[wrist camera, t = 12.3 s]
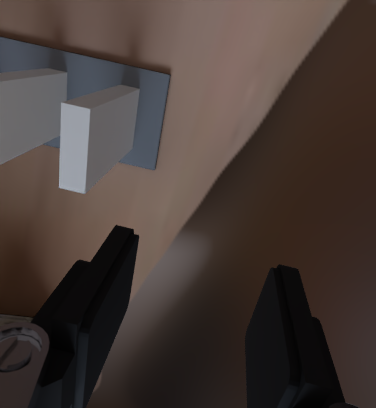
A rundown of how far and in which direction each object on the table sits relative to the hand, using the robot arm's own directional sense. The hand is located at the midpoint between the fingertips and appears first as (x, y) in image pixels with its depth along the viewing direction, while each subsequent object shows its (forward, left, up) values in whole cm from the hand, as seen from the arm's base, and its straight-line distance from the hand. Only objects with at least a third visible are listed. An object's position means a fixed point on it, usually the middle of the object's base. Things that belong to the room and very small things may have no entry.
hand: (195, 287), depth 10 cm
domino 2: (-6, +6, -19) cm, 21 cm away
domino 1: (-10, +10, -19) cm, 24 cm away
